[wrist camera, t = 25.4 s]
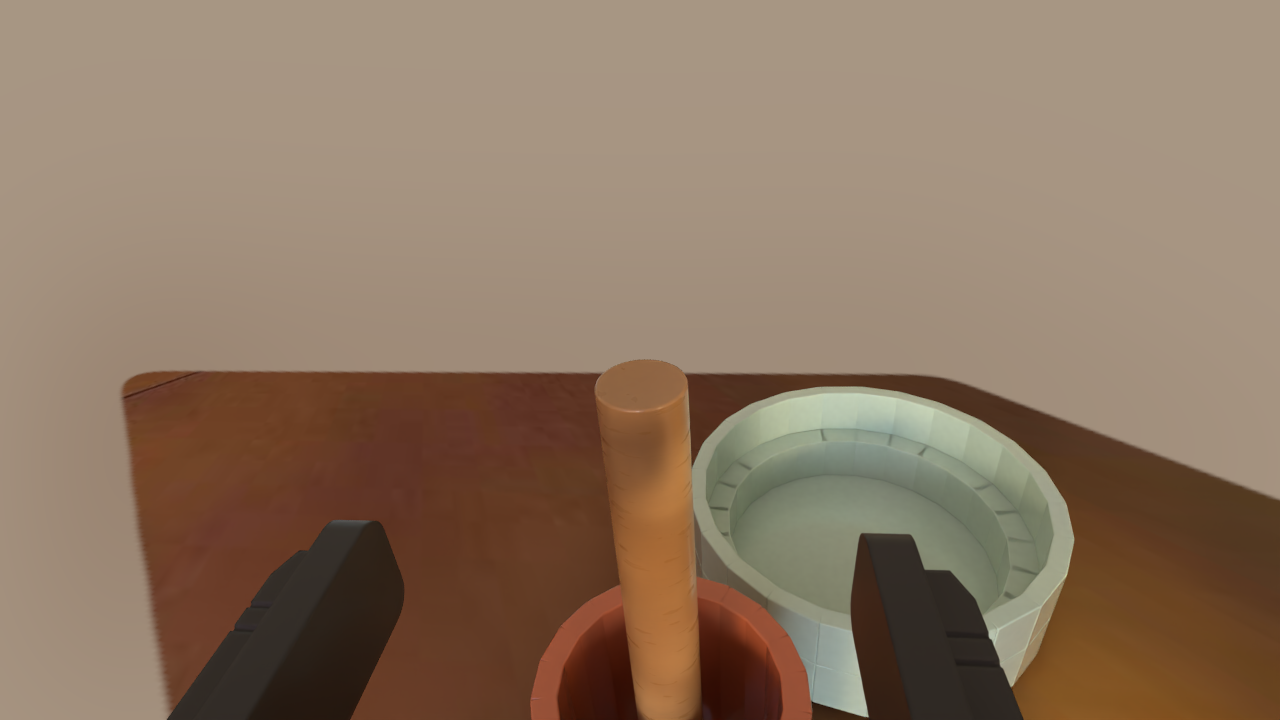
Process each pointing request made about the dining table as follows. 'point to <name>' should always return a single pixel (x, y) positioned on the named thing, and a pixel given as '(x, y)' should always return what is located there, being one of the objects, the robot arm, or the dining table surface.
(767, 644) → the crock
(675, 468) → the stirring stick
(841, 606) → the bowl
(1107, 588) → the dining table surface
